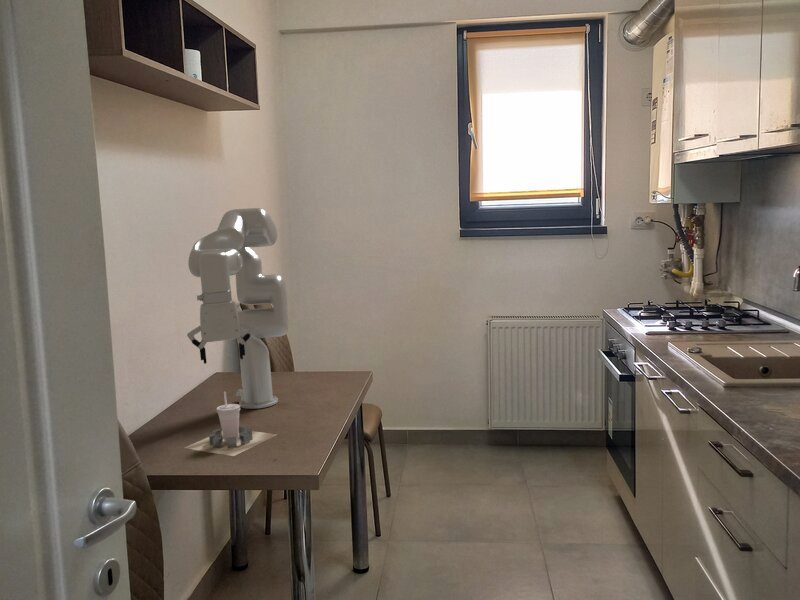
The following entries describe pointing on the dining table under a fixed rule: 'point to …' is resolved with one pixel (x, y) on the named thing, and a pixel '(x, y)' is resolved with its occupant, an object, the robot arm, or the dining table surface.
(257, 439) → the socket plate
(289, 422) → the dining table surface
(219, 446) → the grey blocks
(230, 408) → the smoothie
